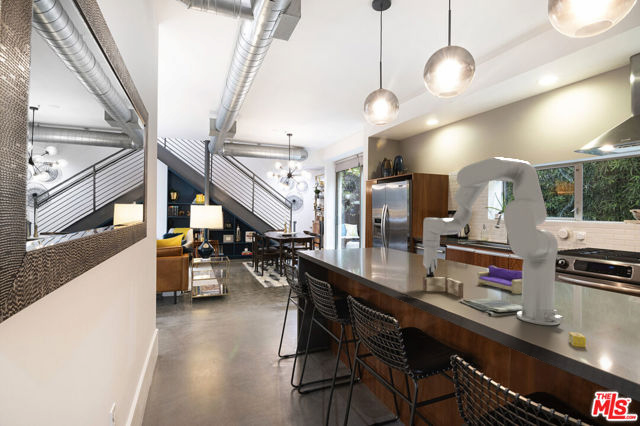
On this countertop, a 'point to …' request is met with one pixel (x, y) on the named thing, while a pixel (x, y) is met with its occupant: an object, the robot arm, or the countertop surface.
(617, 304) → the countertop surface
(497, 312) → the dish towel
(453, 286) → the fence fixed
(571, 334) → the alphabet block
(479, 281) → the toy sofa
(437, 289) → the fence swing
